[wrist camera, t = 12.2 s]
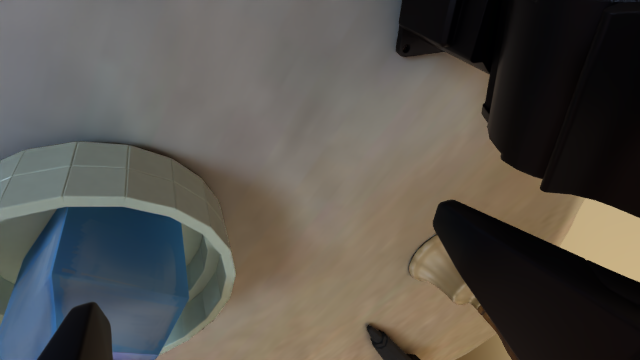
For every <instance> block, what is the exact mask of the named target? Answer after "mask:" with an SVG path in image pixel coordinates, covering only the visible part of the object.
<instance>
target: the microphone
mask: <svg viewBox="0 0 640 360" xmlns="http://www.w3.org/2000/svg"><path fill="white" fill-rule="evenodd" d="M367 330H368V332H369V334H370V336H371V341H372V344H373V346H374V347H375V349H376V350H377V351H378V353H379V354H380V355H381V357H382V358H383V359H384V360H420V359H419V358H418V357H417V356H416V355H413V354H406V353H405V352H404V351H403V350H401V349H400V348H399V347H398V346H397V345H396V344H395V343H394V342H393V341H392V340H391V339H390V338H389V337H388V336H387V335H386V334H385V333H384V332H381V331H380V330H379V331H378V330H376V329H375V328H373V327H372V326H370V325H368V326H367Z"/></svg>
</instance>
